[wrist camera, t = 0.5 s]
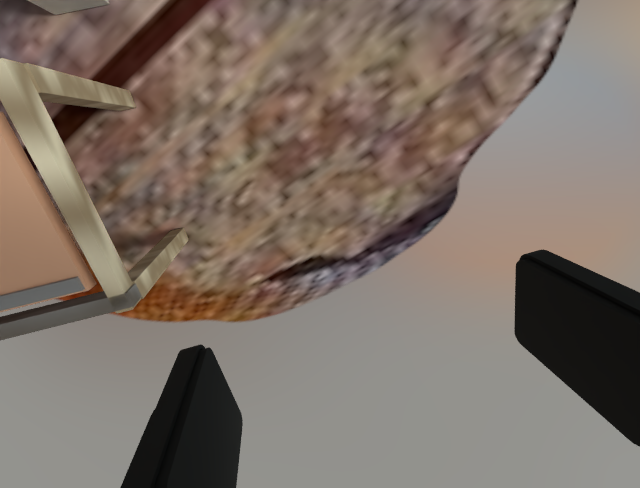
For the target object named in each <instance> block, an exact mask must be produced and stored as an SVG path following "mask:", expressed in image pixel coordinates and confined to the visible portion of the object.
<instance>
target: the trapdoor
mask: <svg viewBox="0 0 640 488" xmlns="http://www.w3.org/2000/svg"><path fill="white" fill-rule="evenodd" d="M96 284H97V283H96V281H95V280H94V278H93V276H92V274H91V272H90V271H89V269H88V267H87V265H86V263H85V261H84V260H83V258H82V256H81V254H80V252H79V250H78V249H77V247H76V245H75V243H74V241H73V239H72V238H71V236H70V234H69V232H68V230H67V229H66V227H65V225H64V223H63V221H62V219H61V218H60V216H59V214H58V212H57V210H56V208H55V207H54V205H53V203H52V201H51V199H50V197H49V196H48V194H47V192H46V190H45V188H44V187H43V185H42V183H41V181H40V179H39V177H38V176H37V174H36V172H35V170H34V168H33V166H32V165H31V163H30V161H29V159H28V157H27V155H26V154H25V152H24V150H23V148H22V146H21V145H20V143H19V141H18V139H17V137H16V135H15V134H14V132H13V130H12V128H11V126H10V124H9V123H8V121H7V119H6V117H5V115H4V113H3V112H0V312H3V311H7V310H11V309H15V308H19V307H24V306H27V305H32V304H36V303H39V302H44V301H48V300H52V299H56V298H60V297H64V296H68V295H72V294H76V293H80V292H84V291H88V290H90V289H91V288H92V287H94V286H95V285H96Z"/></svg>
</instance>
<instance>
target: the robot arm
mask: <svg viewBox="0 0 640 488" xmlns="http://www.w3.org/2000/svg"><path fill="white" fill-rule="evenodd" d="M515 290H516V291H515V336H516V338H517V340H518V341H519V343H520V344H521V345H522V346H523V347H525V348H526V349H527V350H528V351H529V352H530V353H532V355H534V356H535V357H536V358H537V359H538V360H539V361H540V362H542V363H543V364H544V365H545V366H546V367H547V368H548V369H550V370H551V371H552V372H553V373H554V374H555V375H556V376H557V377H559V378H560V379H561V380H562V381H563V382H564V383H565V384H566V385H568V386H569V387H570V388H571V389H572V390H573V391H574V392H576V393H577V394H578V395H579V396H580V397H581V398H583V400H585V401H586V402H587V403H588V404H589V405H590V406H592V407H593V408H594V409H595V410H596V411H597V412H598V413H599V414H600V415H602V416H603V417H604V418H605V419H606V420H607V421H608V422H610V423H611V424H612V425H613V426H614V427H615V428H616V429H618V430H619V431H620V432H621V433H622V434H623V435H624V436H625V437H627V438H628V439H629V440H630V441H631V442H633V443H634V444H636V445H638V446H640V293H639V292H637V291H635V290H633V289H630V288H628V287H626V286H624V285H622V284H619V283H617V282H615V281H613V280H611V279H608V278H606V277H604V276H602V275H600V274H597V273H595V272H593V271H591V270H589V269H586V268H584V267H582V266H580V265H578V264H575V263H573V262H571V261H569V260H567V259H564V258H562V257H560V256H558V255H555V254H553V253H551V252H549V251H547V250H538V251H535V252H531V253H528V254H524V255H522V256H521V258H520V260H519V261H518V262H517V264H516V286H515ZM241 435H242V415H241V412H240V410H239V408H238V405H237V403H236V401H235V399H234V397H233V395H232V392H231V390H230V388H229V386H228V384H227V382H226V379H225V377H224V375H223V373H222V371H221V368H220V366H219V364H218V362H217V360H216V358H215V355H214V354H213V351H212V350H211V348H206V349H205V347H204V346H203V345H198V346H194V347H190V348H187V349H183V350H181V351H180V352H179V354H178V356H177V358H176V361H175V363H174V366H173V368H172V370H171V373H170V375H169V377H168V380H167V383H166V385H165V387H164V389H163V392H162V394H161V397H160V399H159V401H158V404H157V406H156V409H155V410H154V411H153V413H152V415H151V417H150V419H149V422H148V424H147V426H146V429H145V431H144V434H143V436H142V438H141V440H140V443H139V445H138V448H137V450H136V452H135V455H134V457H133V459H132V462H131V464H130V467H129V469H128V471H127V473H126V476H125V479H124V481H123V483H122V486H121V488H236V482H237V473H238V463H239V454H240V444H241Z"/></svg>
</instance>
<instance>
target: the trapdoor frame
mask: <svg viewBox="0 0 640 488" xmlns="http://www.w3.org/2000/svg"><path fill="white" fill-rule="evenodd" d="M0 100H1V102H2V104H3V106H4V108H5V109H6V111H7V113H8V115H9V117H10V119H11V120H12V122H13V124H14V126H15V128H16V130H17V132H18V133H19V135H20V137H21V139H22V141H23V143H24V144H25V146H26V148H27V150H28V152H29V154H30V155H31V157H32V159H33V161H34V163H35V165H36V167H37V168H38V170H39V172H40V174H41V176H42V178H43V179H44V181H45V183H46V185H47V187H48V189H49V190H50V192H51V194H52V196H53V198H54V200H55V202H56V203H57V205H58V207H59V209H60V211H61V213H62V214H63V216H64V218H65V220H66V222H67V224H68V225H69V227H70V229H71V231H72V233H73V235H74V237H75V238H76V240H77V242H78V244H79V246H80V248H81V249H82V251H83V253H84V255H85V257H86V259H87V260H88V262H89V264H90V266H91V268H92V270H93V272H94V273H95V275H96V277H97V279H98V281H99V283H100V284H101V286H102V288H103V290H104V291H103V292H99V293H95V294H91V295H87V296H83V297H79V298H75V299H71V300H67V301H63V302H59V303H55V304H51V305H46V306H43V307H39V308H34V309H30V310H26V311H22V312H19V313H14V314H10V315H7V316H2V317H0V340H4V339H7V338H11V337H16V336H19V335H24V334H27V333H31V332H35V331H39V330H43V329H47V328H51V327H55V326H59V325H63V324H67V323H71V322H74V321H79V320H83V319H87V318H91V317H95V316H99V315H103V314H107V313H111V312H116V314H117V313H121V312H125V311H128V310H132V309H133V308H134V307H135V306H136V304H137V303H138V302H139V301H140V299H143V298H144V297H145V296H146V294H147V293H148V292H149V290H150V289H151V288H152V287H153V285H154V284H155V283H156V281H157V280H158V279H159V278H160V276H161V275H162V274H163V272H164V271H165V270H166V268H167V267H168V266H169V265H170V263H171V262H172V261H173V259H174V258H175V257H176V256H177V254H178V253H179V252H180V250H181V249H182V248H183V247H184V245H185V244H186V243H187V241H188V240H189V239H188V237H187V234H186V232H185V229H184V228H180V229H176V230H172V231H170V232H169V233H168V234H167V235H166V236H165V237H164V238H163V239H162V240H161V241H160V242H159V243H158V244H157V245H156V246H154V247H153V248H152V249H151V250H150V251H149V252H148V253H147V254H146V255H145V256H144V257H143V258H142V259H141V260H140V261H139V262H138V263H137V264H136V265H135V266H134V267H133V268H132V269H131V270H130V271H129V272H128V273H127V271H126V269H125V267H124V265H123V263H122V261H121V259H120V257H119V255H118V253H117V251H116V249H115V247H114V245H113V243H112V241H111V239H110V237H109V235H108V233H107V231H106V229H105V227H104V225H103V223H102V221H101V219H100V217H99V215H98V213H97V211H96V209H95V207H94V205H93V203H92V201H91V199H90V197H89V195H88V193H87V191H86V188H85V186H84V184H83V182H82V180H81V178H80V176H79V174H78V172H77V170H76V168H75V166H74V164H73V162H72V160H71V158H70V156H69V154H68V152H67V150H66V148H65V146H64V144H63V142H62V140H61V138H60V136H59V134H58V132H57V130H56V128H55V126H54V124H53V122H52V120H51V118H50V116H49V114H48V112H47V110H46V108H45V106H44V104H43V102H42V101H44V102H52V103H60V104H68V105H76V106H84V107H92V108H101V109H109V110H117V111H123V110H127V109H132V108H136V106H135V103H134V101H133V98H132V96H131V93H130V91H129V90H125V89H121V88H118V87H114V86H110V85H106V84H103V83H99V82H95V81H92V80H88V79H84V78H81V77H77V76H73V75H69V74H66V73H62V72H58V71H55V70H51V69H47V68H44V67H40V66H36V65H33V64H29V63H24V64H23V63H19V62H15V61H11V60H8V59H4V58H1V59H0Z"/></svg>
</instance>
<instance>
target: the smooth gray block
mask: <svg viewBox="0 0 640 488" xmlns="http://www.w3.org/2000/svg"><path fill="white" fill-rule="evenodd" d="M28 1H30V2H31V3H33V4H35V5H37V6H39V7H41V8H43V9H45V10H47V11H49V12H50V13H52V14H54V15H58V14H63V13H68V12H73V11H78V10H83V9H88V8H93V7H98V6H103V5H108V4H109V2H108V0H28Z"/></svg>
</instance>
